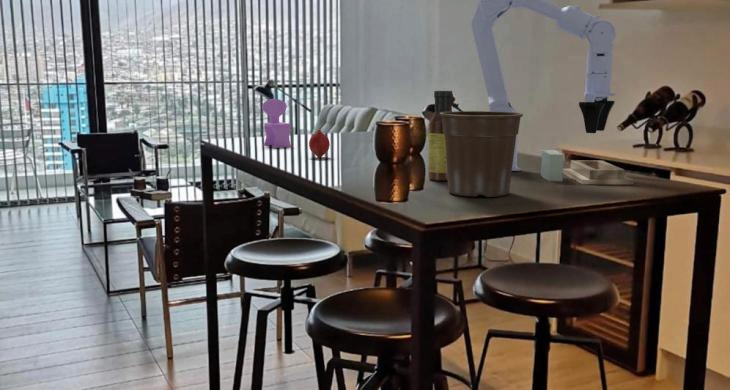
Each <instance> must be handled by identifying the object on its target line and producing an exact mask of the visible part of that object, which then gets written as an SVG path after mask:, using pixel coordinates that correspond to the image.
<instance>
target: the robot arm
mask: <svg viewBox="0 0 730 390" xmlns="http://www.w3.org/2000/svg"><path fill="white" fill-rule="evenodd" d="M511 8H512V10H519V9H527V10H529V11H532V12H534V13H536V14H539V15H541V16H543V17H546V18H548V19H551V20H552V21H555V22H556V26H557V28H558V29H559V30H561V31H563V32H566V33H568V34H570V35H571V36H574V37H577V38H579V39H581V40H584V39H587V41H588V53H587V55H586V67H585V69H586V70H585V72H586V73H585V83H584V84H585V85H584V86H585V87H584V88H585V89H584V92H583V96H584V101H579V102H578V106H579V109H580V111H581V114H582V117H583V122H584V123H583V124H584V128H585V133H587V134H596V133H597V131H598V132H604V131H605V129H606V125H607V122H608V117H609V115H610V112H611V110H612V109H613V107H614V105H615V100H610V97H616V95H617V94H616V92H611V89H612V72H613V61H614V60H613V59H614V58H613V57H614V54H613V51H614V45H613V44H614V43H613V41H614V40H615V39H616V36H617V35H616V34H617V32H616V29H615V27H614V25H613V24H612V23H611V22H610V21H607V20H604V19H603V20H599V19H600V18H601V17H600V15H599V14H595V15H592V14H590V13H588V12H586V11H584V10H581V6H579V5H577V4H576V5H574V6H572V5H567V6H564V7H560V6H558V5H556V4H554V3H552V2H549V1H548V0H478V4H477V6H476V9H475V11H474V15H473V17H472V18H473V19H472V20H471V30H472V34H473V37H474V42H475V47H476V51H477V55H478V61H479V64H480V68H481V72H482V76H483V80H484V84H485V89H486V90H485V91H486V92H487V97H488V107H489V112H514V113H517V111H516V109H515V108H514V107H513V105H512V103H511V99H510V97H509V94H508V90H507V86H506V82H505V78H504V73H503V68H502V64H501V61H500V57H499V52H498V47H497V44H496V39H495V35H494V30H493V28H494V27H495V25H496V23H497V21H499V19H500V17H501V16H502V15H504V14H505V13H506V12H508V10H510V9H511ZM518 135H519V133H518V134H517V135H516V142H515V149H514V157H513V165H512V172H520V171H521V170H522V169H521V168H520V167H518V166H517V162H518V138H519V136H518Z"/></svg>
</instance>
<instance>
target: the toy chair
mask: <svg viewBox="0 0 730 390" xmlns="http://www.w3.org/2000/svg"><path fill="white" fill-rule="evenodd" d="M287 106H288V105H287V103H286V102H284V101H283V100H281V99H278V98H270V99H267V100H265V101H264V102H263V104H262V106H261V107H262V111H263V112H264V113H265V114H266V115H267V116H269V122H264V127H263V128H264V130H265V135H266V137H265V140H264V143H263V146H272V149H275V148H276V149H278V148H291V147H292V144H291V141H290V134H291V129H292V126H291V125H292V124H291V123H290V122H289V123H288V122H284V121H281V122H280V117H281V116H282V115H284V114H285V112H286V110H287Z"/></svg>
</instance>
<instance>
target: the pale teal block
mask: <svg viewBox="0 0 730 390" xmlns="http://www.w3.org/2000/svg"><path fill="white" fill-rule="evenodd" d="M564 155H565V154H564V153H561V152H559V151H558V150H555V149H553V150H551V149H550V150H549V149H548V150H545V149H544V150H543V149H542V150H541V162H540V163H541V165H540V166H541V167H540V169H541V170H540V177H542V178H543V179H545V180H546V181H548V180H549V181H548V182H563V178H564V173H563V169H564V157H565V156H564Z"/></svg>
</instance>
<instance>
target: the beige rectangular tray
mask: <svg viewBox="0 0 730 390" xmlns="http://www.w3.org/2000/svg"><path fill="white" fill-rule="evenodd" d="M569 163H570V167H569V168H563V175H565V176H567V177H568V178H571V180H574V181H575V180H576V181H575V182H577V183H579V184H580V183H581V184H580V185H634V181H635V180H634V179H633V178H631V177H628V176H626V170H625V169H624V168H622V167H619V166H616V165H614V164H611V163H609V162H606V161H605V160H604V159H603V160H600V159H599V160H594V159H593V160H586V159H585V160H581V159H580V160H573V159H571V160H570V162H569Z"/></svg>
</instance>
